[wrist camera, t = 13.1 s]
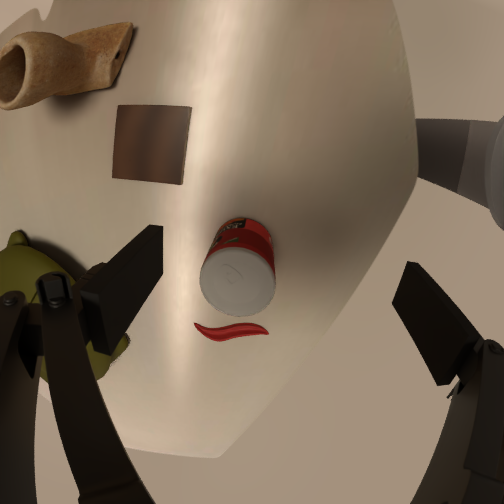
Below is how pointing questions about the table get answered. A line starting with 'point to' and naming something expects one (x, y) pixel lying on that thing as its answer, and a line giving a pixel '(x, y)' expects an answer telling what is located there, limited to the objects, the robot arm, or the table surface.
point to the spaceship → (23, 279)
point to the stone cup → (60, 63)
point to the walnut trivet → (151, 143)
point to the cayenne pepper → (231, 331)
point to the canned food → (239, 269)
